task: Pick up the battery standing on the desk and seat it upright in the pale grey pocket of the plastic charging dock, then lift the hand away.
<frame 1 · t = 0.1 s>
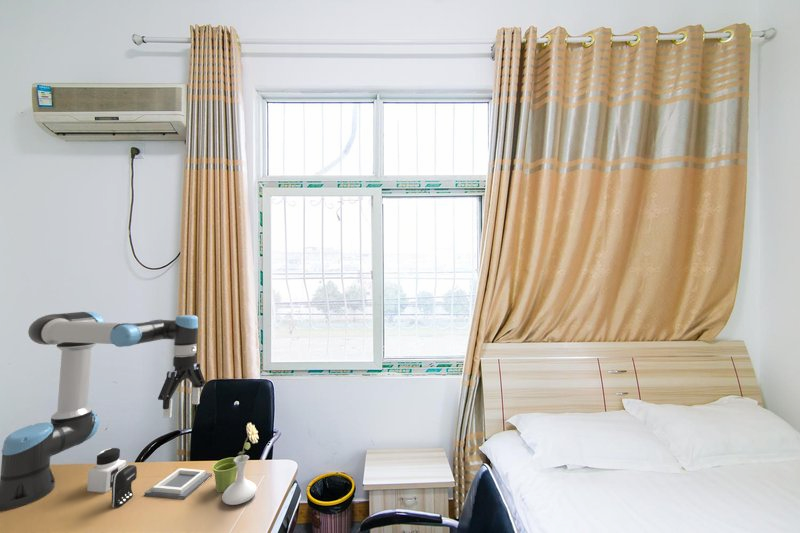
hand: (182, 410, 124), 28 cm above the table, fingers open, 13 cm apart
container: (106, 486, 121), on the table
plant pot: (225, 488, 121), on the table
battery: (123, 502, 112), on the table
flower in vase: (241, 496, 116), on the table
dock: (179, 485, 122), on the table
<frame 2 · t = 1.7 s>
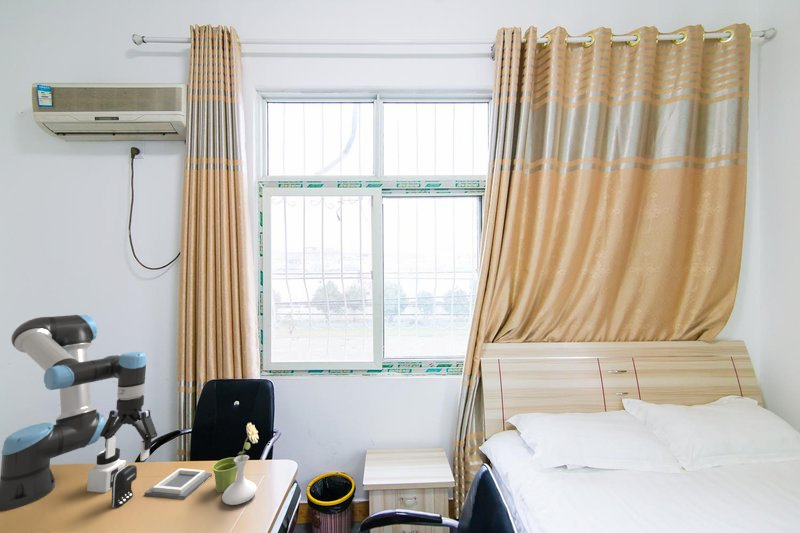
hand: (127, 457, 113), 15 cm above the table, fingers open, 13 cm apart
nothing on the table moved.
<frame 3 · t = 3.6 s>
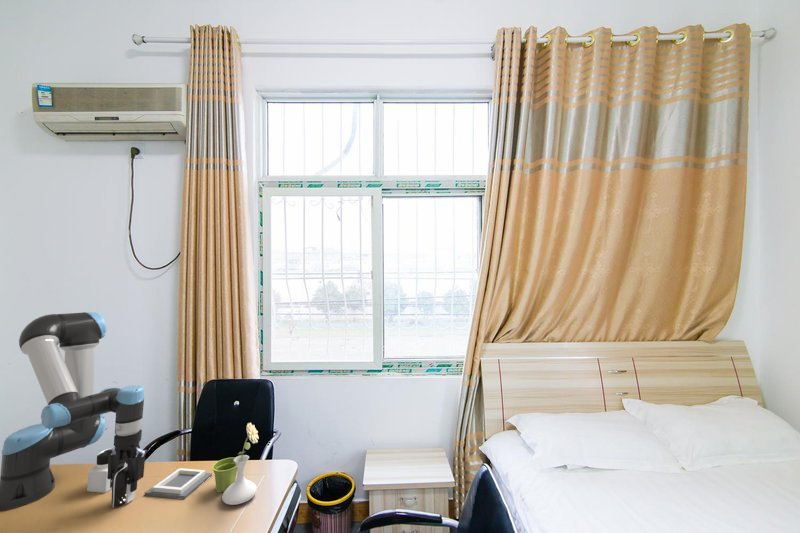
hand: (124, 499, 112), 1 cm above the table, fingers closed on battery, 4 cm apart
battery: (123, 502, 112), on the table, touching gripper
everything else where it was.
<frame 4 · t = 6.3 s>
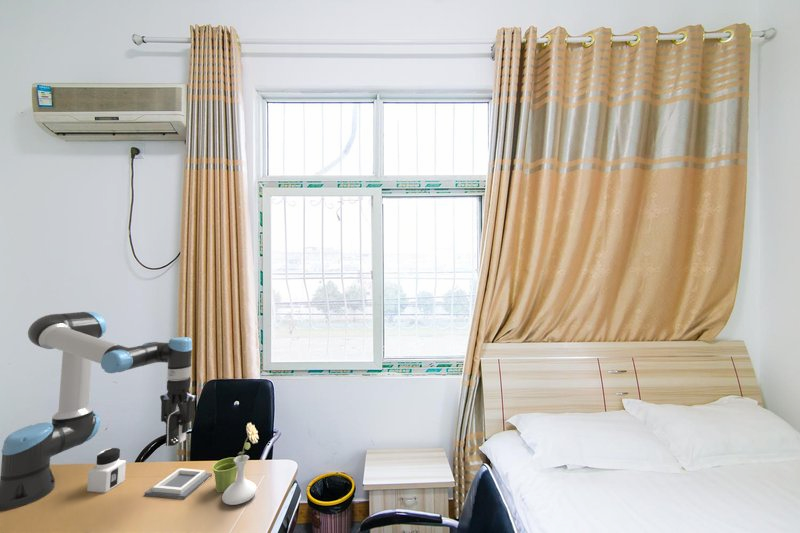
hand: (176, 440, 122), 17 cm above the table, fingers closed on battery, 4 cm apart
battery: (176, 443, 121), point 16 cm above the table, touching gripper
everything else where it was.
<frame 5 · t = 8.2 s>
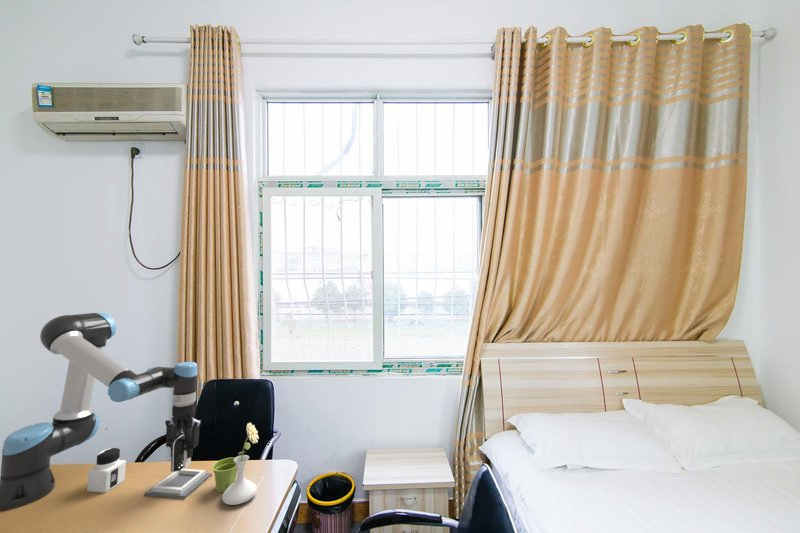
hand: (181, 465, 122), 7 cm above the table, fingers closed on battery, 4 cm apart
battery: (181, 467, 122), point 6 cm above the table, touching gripper
everything else where it was.
when the fingers open (5 cm above the table, at t = 9.4 s): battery drops 3 cm, resting on dock.
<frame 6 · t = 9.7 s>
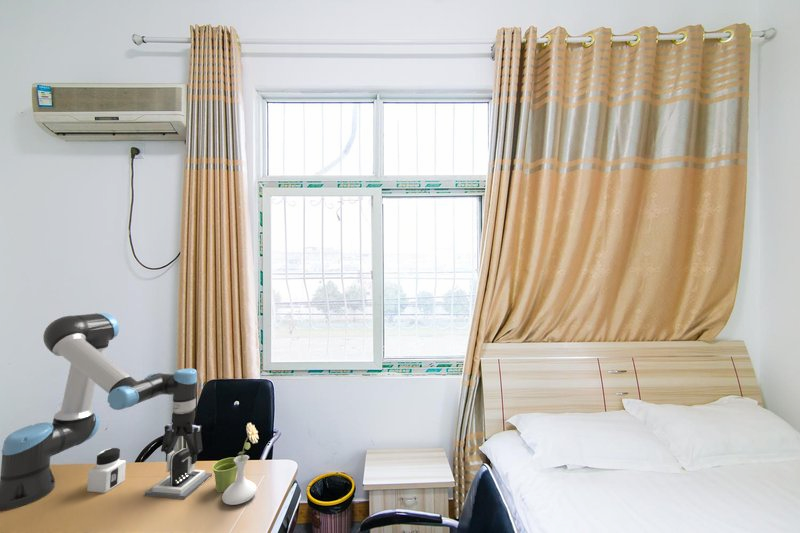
hand: (180, 470, 122), 5 cm above the table, fingers open, 8 cm apart
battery: (181, 482, 122), point 1 cm above the table, touching dock
everything else where it was.
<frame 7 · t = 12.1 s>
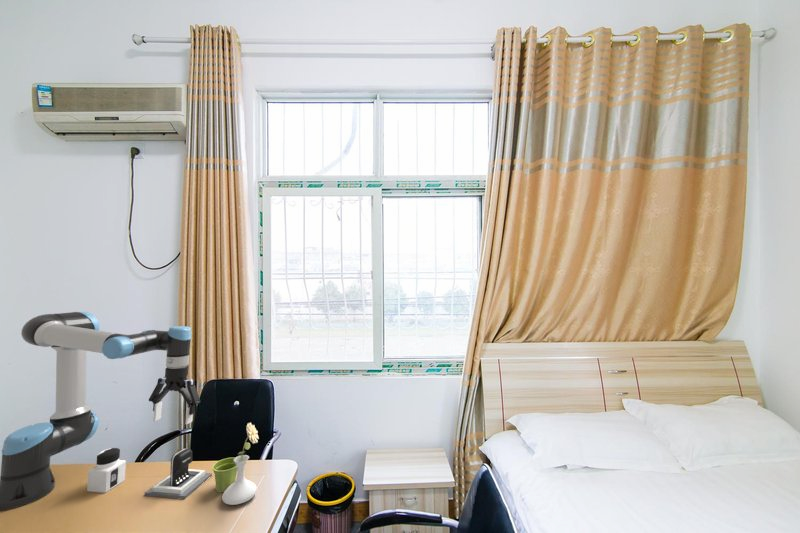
hand: (172, 421, 125), 23 cm above the table, fingers open, 13 cm apart
nothing on the table moved.
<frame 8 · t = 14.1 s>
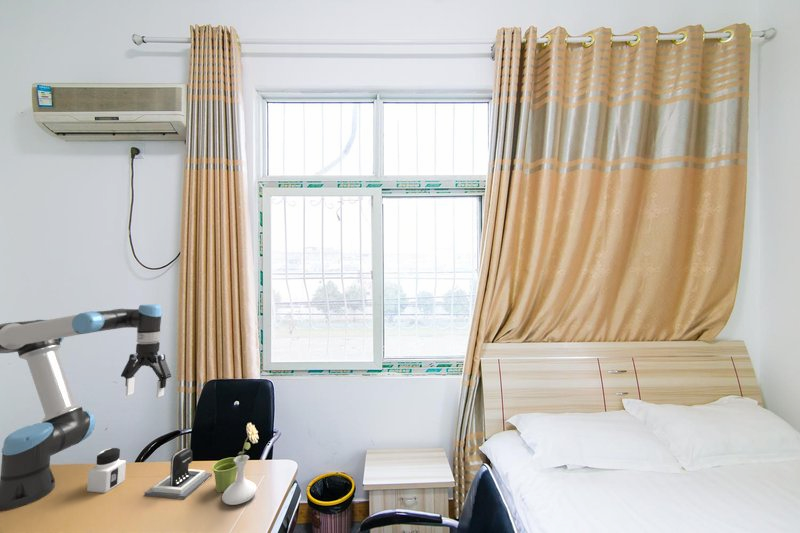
hand: (144, 395, 129), 32 cm above the table, fingers open, 13 cm apart
nothing on the table moved.
at the end: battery 0.4 cm off-centre on the dock, point 0.8 cm above the dock's base; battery tilted 0°; the gripper is holding nothing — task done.
